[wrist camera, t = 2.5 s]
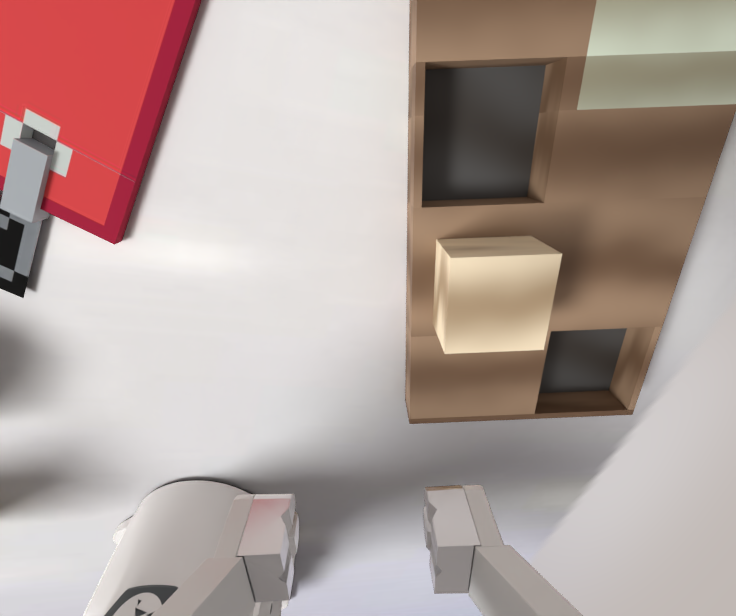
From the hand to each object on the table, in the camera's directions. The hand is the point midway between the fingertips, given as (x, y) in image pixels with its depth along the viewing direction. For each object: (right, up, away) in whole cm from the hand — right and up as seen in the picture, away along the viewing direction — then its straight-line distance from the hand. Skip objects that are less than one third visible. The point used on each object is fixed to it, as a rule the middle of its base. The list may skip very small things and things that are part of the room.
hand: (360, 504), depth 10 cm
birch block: (+8, +7, +15) cm, 18 cm away
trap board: (+12, +11, +16) cm, 23 cm away
